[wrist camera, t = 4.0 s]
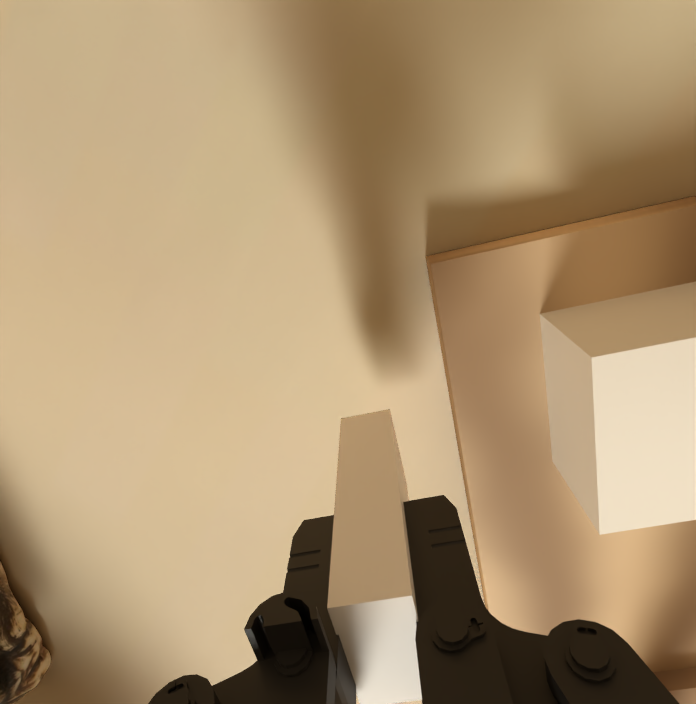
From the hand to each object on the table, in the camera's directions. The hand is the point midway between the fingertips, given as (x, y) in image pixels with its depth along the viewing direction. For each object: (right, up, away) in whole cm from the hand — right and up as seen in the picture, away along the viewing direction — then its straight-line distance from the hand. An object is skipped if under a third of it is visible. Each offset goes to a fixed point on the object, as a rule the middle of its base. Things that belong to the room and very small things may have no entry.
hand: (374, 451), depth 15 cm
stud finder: (+10, +3, +1) cm, 10 cm away
